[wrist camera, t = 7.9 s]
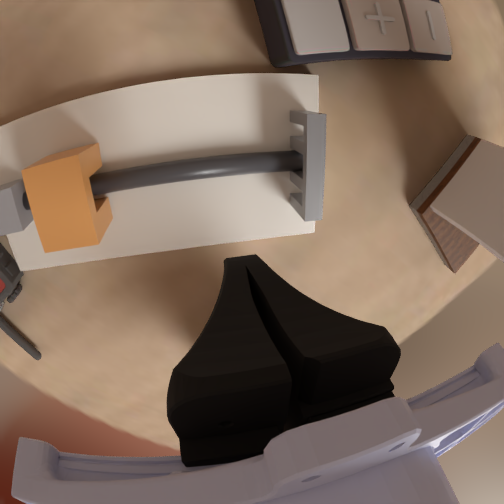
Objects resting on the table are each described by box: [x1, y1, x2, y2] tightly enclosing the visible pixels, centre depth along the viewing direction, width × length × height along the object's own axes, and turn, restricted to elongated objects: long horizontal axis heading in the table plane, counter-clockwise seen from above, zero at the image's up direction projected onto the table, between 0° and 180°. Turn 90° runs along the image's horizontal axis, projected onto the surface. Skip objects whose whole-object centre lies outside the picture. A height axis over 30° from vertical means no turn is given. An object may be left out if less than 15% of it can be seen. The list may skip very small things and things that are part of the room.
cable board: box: [0, 73, 326, 271], centre depth 17 cm, size 12×25×4 cm, turn 91°
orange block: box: [21, 143, 113, 253], centre depth 16 cm, size 5×4×4 cm
